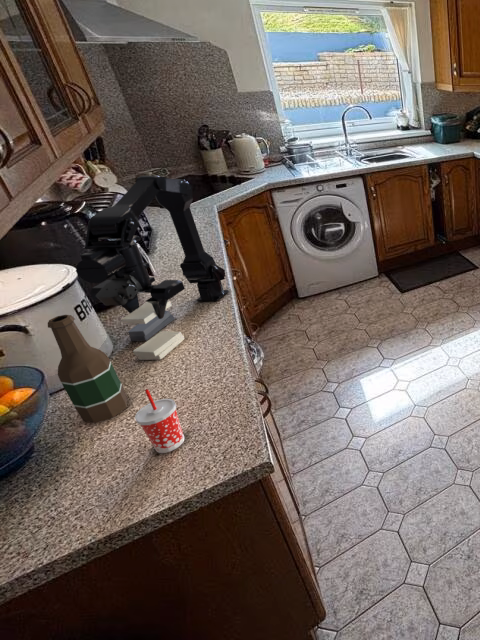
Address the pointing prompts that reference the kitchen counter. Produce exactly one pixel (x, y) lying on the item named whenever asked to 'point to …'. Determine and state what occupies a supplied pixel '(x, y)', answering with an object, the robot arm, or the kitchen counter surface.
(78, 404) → the beer bottle
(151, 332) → the dark grey rectangular block
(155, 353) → the cream flat block
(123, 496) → the kitchen counter surface
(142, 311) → the white book
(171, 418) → the beverage cup
